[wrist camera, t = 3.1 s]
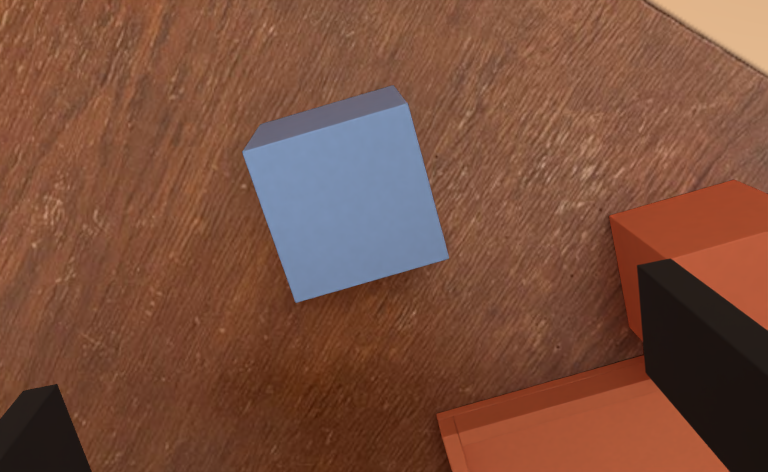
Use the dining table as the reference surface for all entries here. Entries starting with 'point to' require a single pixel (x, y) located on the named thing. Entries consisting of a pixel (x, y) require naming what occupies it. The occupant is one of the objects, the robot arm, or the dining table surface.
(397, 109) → the blue block
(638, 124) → the dining table surface
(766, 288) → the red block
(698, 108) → the dining table surface
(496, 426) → the clay tray
